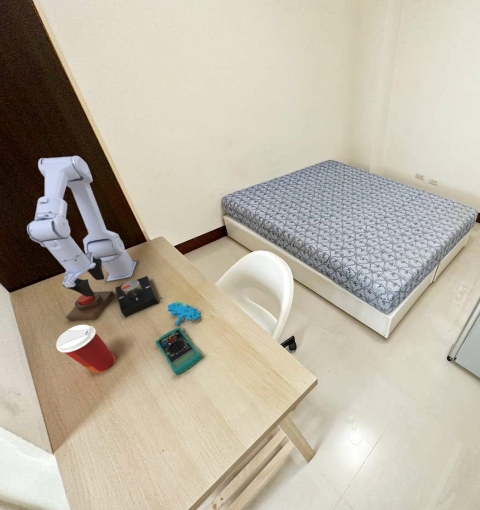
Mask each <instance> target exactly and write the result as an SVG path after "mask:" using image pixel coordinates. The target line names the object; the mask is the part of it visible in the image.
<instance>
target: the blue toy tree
mask: <svg viewBox="0 0 480 510" xmlns="http://www.w3.org/2000/svg"><path fill="white" fill-rule="evenodd" d="M166 311H167V312H169V313H170V316H172V317H176V316H177V317H176V319H177V320H176V322H175V325H176V326H179V325H180V323H181V322H182V320H183V319H184V321H187V322H190V320H191V321H197V319H200V317H201V314H200V311H198V310H197V308H196V307H191V305H190V304H184V303H183V302H181V301H180V300H176V302H172V303H169V304H168V305H167V310H166Z"/></svg>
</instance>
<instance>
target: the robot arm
mask: <svg viewBox="0 0 480 510" xmlns="http://www.w3.org/2000/svg"><path fill="white" fill-rule="evenodd" d="M37 165H38V170H39V171H40V174H41V175H42V176H43V177H44V196H41V197H39V198H38V200H37V203H36V210H35V215H34V220H32V221H31V222H30V223H28V224H27V226H26V231H27V234H28V235H29V239H31V240H32V242H35V243H38V244H40V246H41V247H43V248H46V249H47V250H48V251H49V252H50V253H51V255H52V256H53V257H54V258H55V259H56V260H57V262H58V263H59V264H60V265H61V266H62V267H63V268H64V269H65V273H64V274H65V275H64V279H63V281H62V283H61V284H62V287H63V288H64V289H67V290H68V289H69V290H71V291H74V292H77V293H79V294H81V296H82V295H84V296H86V297H90V296H94V292H95V291H94V290H93V289H92V287H91V286H90V283H89V279H88V278H86V279H82V278H80V277H81V276H83V275H84V274H85V273H88V274H89V275H91V277H92V278H93V279H94V280H96V281H103V280H105V275H104V272H103V268H104V269H105V271H106V272H107V274H108V276H107V278H106V281H107V282H112V281H118V280H123V279H128V278H131V277H132V275H133V273H134V271H135V268H136V265H137V261H133V259H132V258H131V256H130V255H129V252H128V251H127V250H126V249H125V245H124V242H123V240H122V239H121V237H120V235H119V233H116V232H114V231H111V230H108V229H107V227H106V225H105V222H104V219H103V217H102V214H101V211H100V208H99V205H98V203H97V200H96V198H95V195H94V193H93V192H94V191H93V190H92V187H91V185H90V184H91V183H92V182H93V181H94V180H93V176H92V174H91V170H90V168H89V166H88V164H87V162H86V161H85V160H84V159H83V158H82V157H80V156H78V155H73V156H61V157H48V158H47V157H41V158H40V159H38V162H37ZM67 187H68V188H69V189H70V190H71V192H72V194H73V198H74V200H75V202H76V206H77V208H78V210H79V212H80V215H81V218H82V220H83V222H84V225H85V228H86V230H87V233H88V234H87V235H86V236H85V237H84V238H83V239H82V243H83V246H84V247H83V249H84V252H83V250H82V249H81V247H79V245H78V244H77V243H76V242H75V240H74V238H73V237H72V236H71V227H70V225H69V220H68V219H67V211H68V203H67V201H66V200H64V196H65V192H66V188H67Z"/></svg>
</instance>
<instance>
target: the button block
mask: <svg viewBox="0 0 480 510" xmlns="http://www.w3.org/2000/svg"><path fill="white" fill-rule="evenodd" d="M93 292H94V296H93V297H94V300H93V301H92V302H90V303H88V304H85V305H82V304H81V303H80V302H79V301H78V299H76V301H75V302H74V307H73V308H72V310H71V311H70V312H69V313H68V314H67V315H66V316H65V318H66V319H67V320H68V321H69V322H83V321H85V322H86V321H97V319H98V318H99V317H100V316H101V314H102V313H103V311H105V309H107V307H108V305H110V303H111V301H112V300H113V299H114V298H115V297H116V293H114V292H113V291H112V290H105V291H104V290H103V291H93Z"/></svg>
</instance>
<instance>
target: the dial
mask: <svg viewBox="0 0 480 510" xmlns="http://www.w3.org/2000/svg"><path fill="white" fill-rule="evenodd" d="M121 290H122V291H123V292H124V294H125V295H126V296H127V297H128V298H133V297H136V296H139V295H140V294H141V293H142V292H143V287H142V286H141V284H140V283H139V281H137V279H132V280H128V281H125V282H124V283H123V284H122V287H121Z"/></svg>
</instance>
